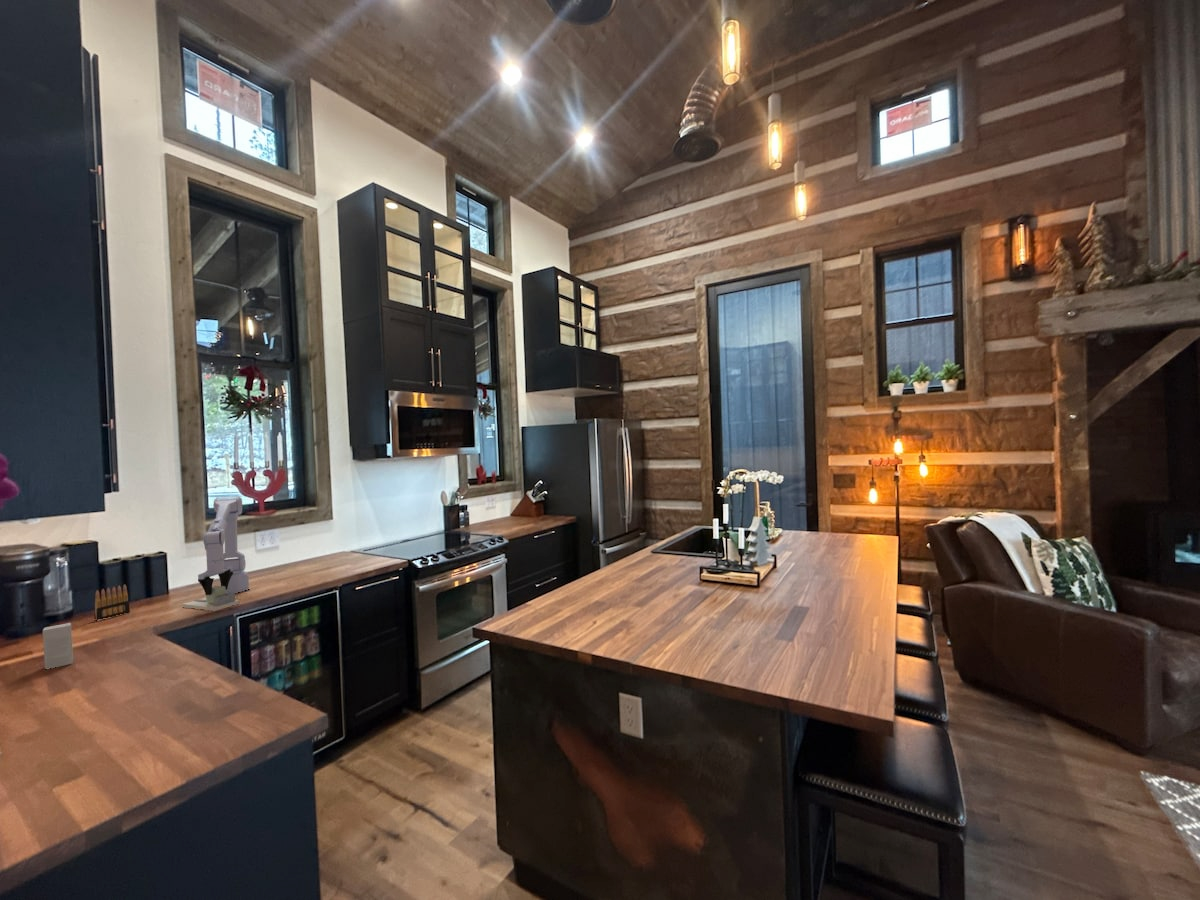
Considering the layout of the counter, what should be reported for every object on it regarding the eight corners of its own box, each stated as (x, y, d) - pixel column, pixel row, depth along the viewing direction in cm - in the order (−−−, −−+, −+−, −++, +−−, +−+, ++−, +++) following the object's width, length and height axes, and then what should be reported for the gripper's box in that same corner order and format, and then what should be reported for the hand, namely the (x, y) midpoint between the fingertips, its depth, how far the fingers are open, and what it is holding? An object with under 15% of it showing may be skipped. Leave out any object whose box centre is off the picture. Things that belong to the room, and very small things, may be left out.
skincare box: (73, 660, 162) (71, 622, 162) (73, 663, 159) (71, 625, 159) (45, 666, 158) (43, 627, 158) (44, 670, 155) (42, 630, 155)
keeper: (216, 599, 219) (215, 585, 219) (225, 600, 217) (225, 586, 217) (206, 602, 216) (205, 588, 216) (215, 603, 214) (215, 588, 214)
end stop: (231, 600, 218) (230, 592, 218) (235, 601, 217) (234, 593, 217) (213, 605, 212) (213, 597, 212) (217, 606, 211) (217, 597, 211)
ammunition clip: (96, 621, 202) (95, 590, 202) (94, 621, 203) (92, 590, 203) (130, 612, 212) (128, 583, 212) (127, 612, 213) (126, 583, 213)
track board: (207, 600, 226) (207, 596, 226) (239, 603, 219) (239, 599, 219) (182, 607, 217) (182, 603, 217) (214, 611, 209) (214, 606, 209)
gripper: (221, 556, 224) (223, 587, 224) (190, 563, 210) (192, 597, 210) (236, 555, 223) (237, 587, 223) (206, 563, 209) (207, 597, 209)
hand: (216, 592), depth 216 cm, fingers open, 7 cm apart
